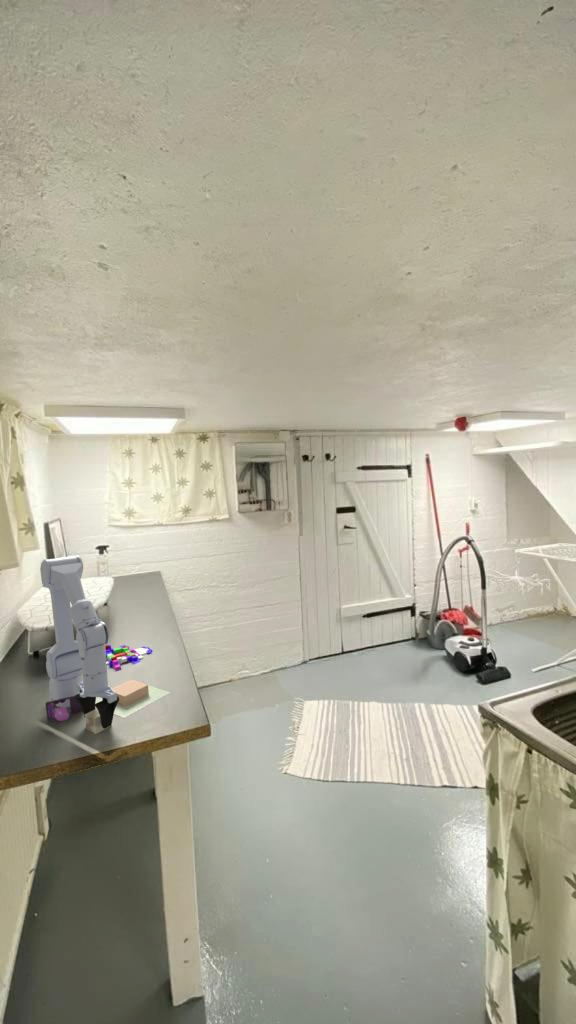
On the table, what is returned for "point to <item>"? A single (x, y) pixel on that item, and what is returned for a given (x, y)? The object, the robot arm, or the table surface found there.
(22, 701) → the table surface
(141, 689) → the base brick
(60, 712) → the purple and pink piece
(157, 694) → the base plate
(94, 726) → the top brick
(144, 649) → the building block set
